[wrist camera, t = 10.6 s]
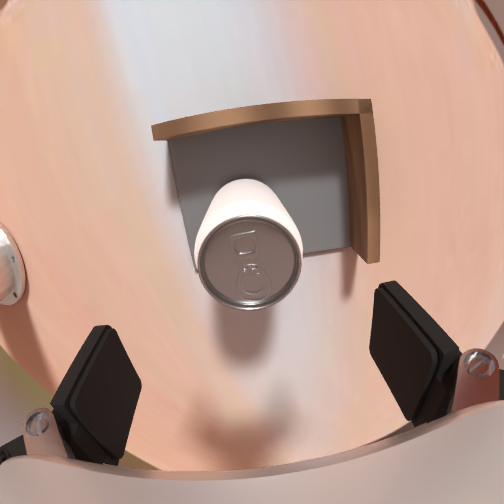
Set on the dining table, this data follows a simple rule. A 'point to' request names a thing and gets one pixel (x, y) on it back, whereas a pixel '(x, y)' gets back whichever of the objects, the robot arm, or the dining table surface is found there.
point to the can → (248, 247)
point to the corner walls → (355, 143)
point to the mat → (270, 174)
